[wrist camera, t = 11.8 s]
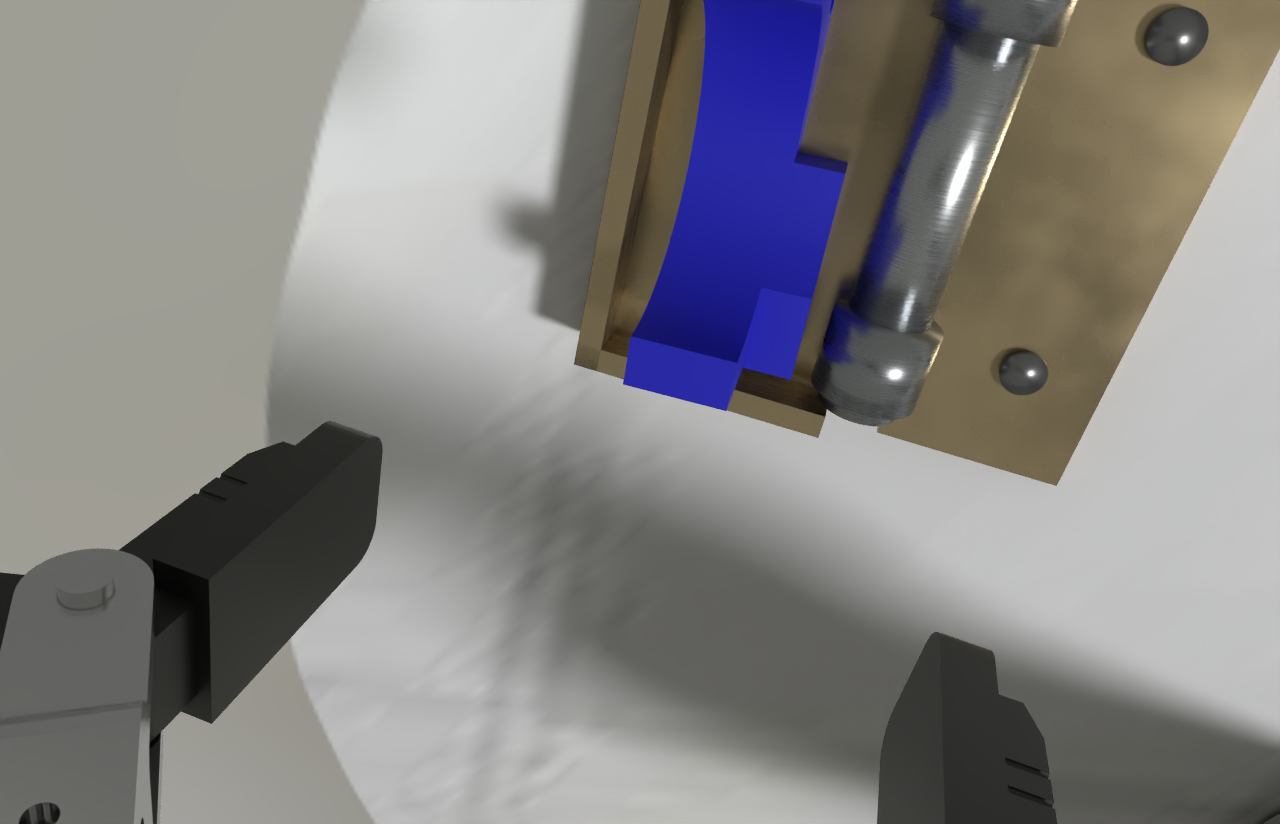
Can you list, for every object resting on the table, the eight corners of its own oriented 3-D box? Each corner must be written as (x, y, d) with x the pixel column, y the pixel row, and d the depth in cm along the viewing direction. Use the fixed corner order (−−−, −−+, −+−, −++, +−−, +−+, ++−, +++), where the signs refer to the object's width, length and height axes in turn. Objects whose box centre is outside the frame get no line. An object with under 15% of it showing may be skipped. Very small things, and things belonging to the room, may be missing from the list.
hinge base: (1338, -92, 23) (1401, -96, 20) (1053, 473, 31) (1068, 529, 28) (703, -227, 25) (676, -249, 22) (594, 337, 33) (564, 376, 30)
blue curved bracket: (800, 342, 31) (779, 424, 26) (669, 310, 31) (623, 383, 26) (906, -59, 25) (906, -58, 20) (743, -89, 26) (701, -95, 20)
